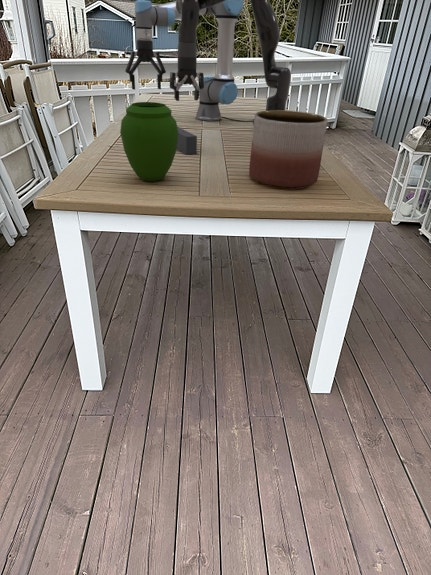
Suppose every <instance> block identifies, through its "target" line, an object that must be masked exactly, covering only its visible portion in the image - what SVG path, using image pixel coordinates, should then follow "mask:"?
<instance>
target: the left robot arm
mask: <svg viewBox="0 0 431 575" xmlns="http://www.w3.org/2000/svg"><path fill="white" fill-rule="evenodd" d="M176 1H177V0H174V1H170V2H166V3H161V4H157V5H152V1H151V0H135V2H134V14H135V15H134V16H135V32H136V35H135V36H136V39H137V40H136V51H134V50H131V51H130V57H129V59H128V62H127V65H126V67H125V70H124V72H125V73H126V74H128V76H129V82H131V89H132V90H134V91H135V90H136V77H135V74H134V73H135V71H136V70H137V68H138V67H139V66H140V64H141V63H150V64H151V65H152V67H153V68H154V69H155V70H156V72H157V73H158V74H157V75H156V78H157V79H156V82H157V89H158V90H162V82H163V75H164V74H166V73H167V71H166V69H165V66H164V64H163V61H162V59H161V57H160V56H161V55H160V52H159V51H154V41H153V26H154V27H173V26H174V25H175V22H176V20H179V19H181V18H182V15H180V14H179V13H178V12H177V10H176ZM243 8H244V0H226V1H224V2H222V3H219V4H217V5H215V6H212V7H210V8H205V9H201V10H199V16H205V15H211V16H213V15H215V20H216V22H217V23H218V26H217V29H218V30H217V53H216V54H217V55H216V74H215V75H214V76H204V88H203V89H200V90H199V99H198V101H199V103H198V104H199V105H198V107H197V111H196V114H195V119H196V120H199V121H202V122H203V121H204V122H218V121H221V120H222V119H225V120H228V121H234V122H241V123H250V122H252V123H253V119H252V120H251V119H250V120H243V119H234V118H229V117H225V116H222V114H221V110H220V107H219V105H220V104H221V105H230V104H232V103H234V101H235V100H236V99H237V97H238V93H239V88H238V86H237V84H236V83H235V76H234V75H233V67H234V66H233V63H234V61H233V60H234V48H235V46H234V45H235V27H236V26H235V24H236V23H237V22H238V20H239V15H240V13H241V12H242V10H243ZM135 57H137V58H136V61H135V62H134V60H135ZM154 57H155V59H156V61H155V60H154ZM133 62H134V63H133ZM156 62H157V63H156Z"/></svg>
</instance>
